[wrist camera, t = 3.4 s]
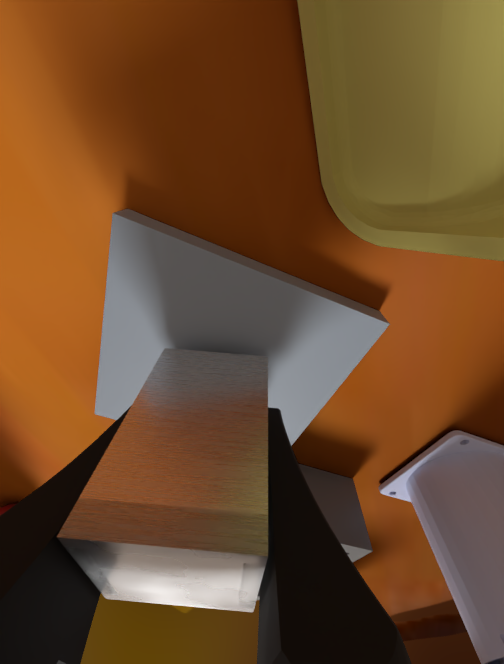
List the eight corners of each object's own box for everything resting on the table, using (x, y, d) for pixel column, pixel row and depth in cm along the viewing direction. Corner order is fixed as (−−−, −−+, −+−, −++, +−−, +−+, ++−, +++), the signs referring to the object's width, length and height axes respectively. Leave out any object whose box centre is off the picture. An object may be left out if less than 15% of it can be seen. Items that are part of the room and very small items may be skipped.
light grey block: (267, 356, 12) (268, 556, 6) (259, 424, 14) (253, 612, 8) (164, 347, 12) (56, 537, 6) (174, 416, 14) (106, 598, 8)
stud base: (379, 311, 12) (446, 397, 8) (275, 448, 19) (278, 541, 14) (127, 208, 11) (18, 241, 6) (105, 398, 17) (42, 488, 12)
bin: (352, 478, 20) (372, 551, 16) (277, 543, 27) (279, 603, 24) (177, 429, 18) (153, 499, 14) (145, 513, 25) (124, 575, 21)
